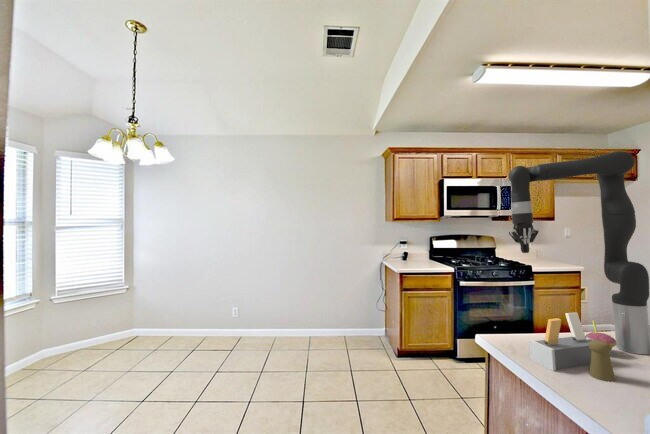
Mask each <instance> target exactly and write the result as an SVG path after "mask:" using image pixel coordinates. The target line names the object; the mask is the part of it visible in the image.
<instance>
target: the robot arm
mask: <svg viewBox="0 0 650 434" xmlns="http://www.w3.org/2000/svg"><path fill="white" fill-rule="evenodd" d="M635 163H636V161H635V157H634V156H633V155H632V154H631V153H629V152H627V151H621V150H619V151H616V150H615V151H612V152H609V153H607V154H603V155H597V156H593V157H590V158H583V159H582V158H581V159H577V160H575V159H573V160H565V161H557V162H556V161H555V162H548V163H542V164H538V165H535V166H527V167H526V166H523V165H517V166H515V167H513V168H512V169H511V170H510V171H509V173H508V176H507V177H508V180H509V182H510V184H511V191H510V201H511V208H510V211H511V219H512V220H511V221H512V225H513V227H512V228H513V229H512V231H509V232H508V234H509V236H510V237H511V238H512V240H513V241H514V242H515V243H517V244H519V245H520V252H521V253H523V254H529V253H530V243H534V242H535V239H536V238H537V236H538V234H539V230H538V229H535V228H534V226H533V223H534V214H533V205H532V201H531V200H532V199H531V192H530V191H531V190H530V189H531V188H530V186H531V185H530V184H531V183H533V182H534V183H535V182H544V181H552V180H553V181H554V180H560V179H567V178H572V177H579V176H585V175H594V174H595V175H596V176H597V180H598V185H599V189H600V206H601V219H602V221H601V222H602V229H603V241H604V258H603V259H604V260H603V261H604V262H603V271H604V275H605V277H606V278H607V280H609V282H611V283H614V284H619V291H618V292H617V293H613V294H612V295H611V303H612V312H613V313H612V315H613V324H614V335H615V337H614V339H615V340H616V343H617V345H616V346H615V347H616V348H617V349H619V350H621V351H624V352H626V353H627V352H628V353H631V354H638V355H650V322H649V313H648V312H649V311H648V300H649V297H650V277H649V272H648V269H647V268H646V267H645V266H644V265H643V264H641V263H639V262H635V261H630V260H629V259H628V252H627V251H628V246H629V245H628V244H629V242H630V240H631V238H632V236H633V235H634V233H635V231H636V227H637V220H636V218H637V217H636V211H635V207H634V204H633V203H632V201H631V198H630V197H629V195H628V193H627V190H626V187H625V174H627V173H628V172H630V171H631V170H632V169H633V168H634V166H635Z"/></svg>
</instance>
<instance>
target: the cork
mask: <svg viewBox="0 0 650 434" xmlns="http://www.w3.org/2000/svg"><path fill="white" fill-rule="evenodd" d="M589 348H590V349H591V363H590V365H589V376H590V377H592V378H594V379H596V380H599V381H602V382H608V381H609V383H610V382H611V381H613V382H615V381H616V377H615V376H616V375H615V372H614V367H613V364H612V361H611V357H610V355H609V353H610V352H612V350H611V347H610V345H609V344H608V343H606V342H604V341H600V340H591V341H590V342H589ZM610 354H611V353H610ZM611 383H612V382H611Z"/></svg>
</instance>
